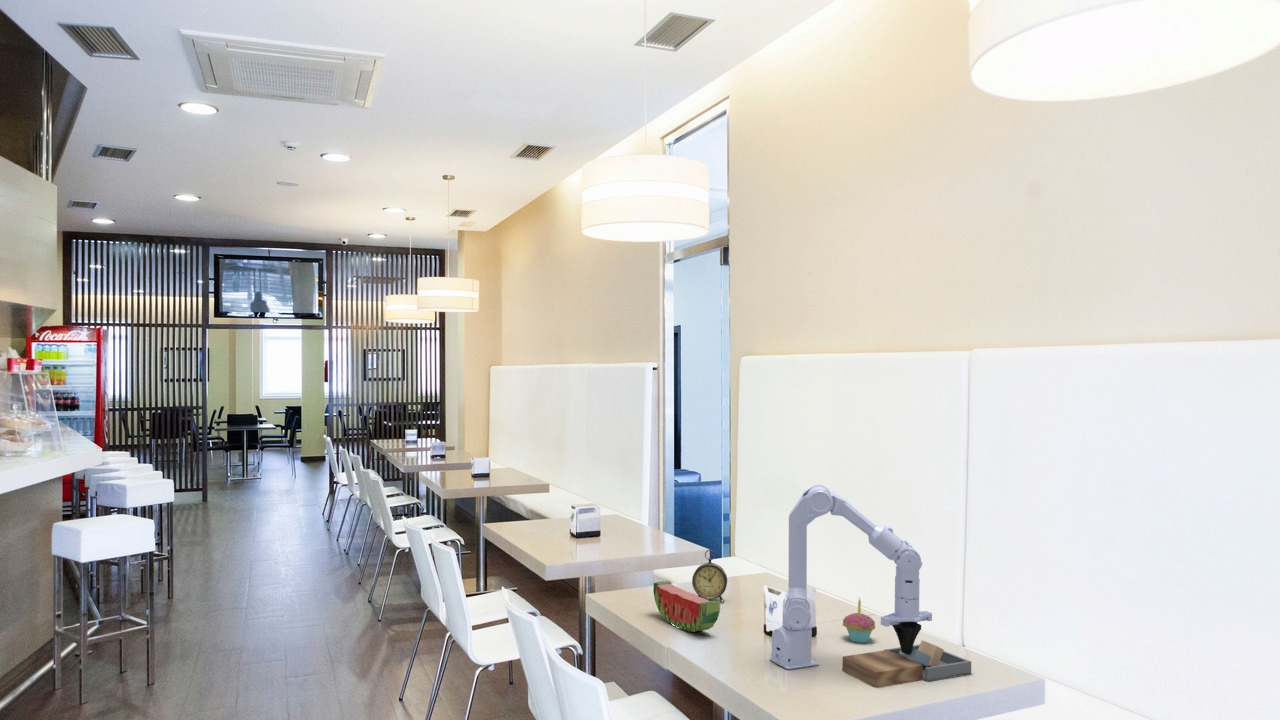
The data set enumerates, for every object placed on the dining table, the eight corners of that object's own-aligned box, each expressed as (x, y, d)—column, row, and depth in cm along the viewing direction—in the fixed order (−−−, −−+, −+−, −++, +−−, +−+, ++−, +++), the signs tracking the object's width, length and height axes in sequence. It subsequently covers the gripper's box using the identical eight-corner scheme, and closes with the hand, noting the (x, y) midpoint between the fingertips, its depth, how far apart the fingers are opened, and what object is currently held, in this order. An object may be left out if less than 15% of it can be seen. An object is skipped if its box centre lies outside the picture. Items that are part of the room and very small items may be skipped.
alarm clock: (691, 602, 261) (692, 550, 261) (693, 597, 266) (694, 547, 267) (726, 604, 259) (727, 552, 259) (727, 600, 264) (728, 549, 265)
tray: (927, 681, 194) (927, 668, 194) (883, 661, 207) (883, 649, 207) (971, 674, 200) (971, 661, 200) (925, 655, 213) (925, 643, 213)
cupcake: (876, 646, 220) (876, 601, 220) (843, 643, 221) (843, 598, 222) (873, 636, 228) (874, 593, 228) (842, 634, 230) (842, 590, 230)
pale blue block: (913, 659, 199) (917, 649, 199) (898, 653, 203) (902, 643, 204) (927, 666, 201) (931, 656, 201) (912, 660, 205) (916, 650, 206)
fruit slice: (651, 616, 243) (652, 582, 244) (669, 614, 247) (670, 580, 247) (702, 641, 221) (703, 603, 221) (721, 638, 224) (722, 600, 224)
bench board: (876, 687, 189) (876, 672, 189) (842, 670, 200) (842, 656, 200) (922, 679, 195) (922, 665, 195) (887, 663, 206) (887, 649, 206)
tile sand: (936, 645, 201) (943, 649, 202) (921, 639, 206) (928, 643, 207) (929, 665, 200) (936, 669, 201) (914, 659, 205) (921, 662, 206)
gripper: (895, 603, 195) (894, 661, 194) (941, 597, 201) (941, 654, 200) (875, 596, 201) (874, 652, 201) (920, 591, 207) (919, 645, 207)
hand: (906, 652), depth 201 cm, fingers closed
